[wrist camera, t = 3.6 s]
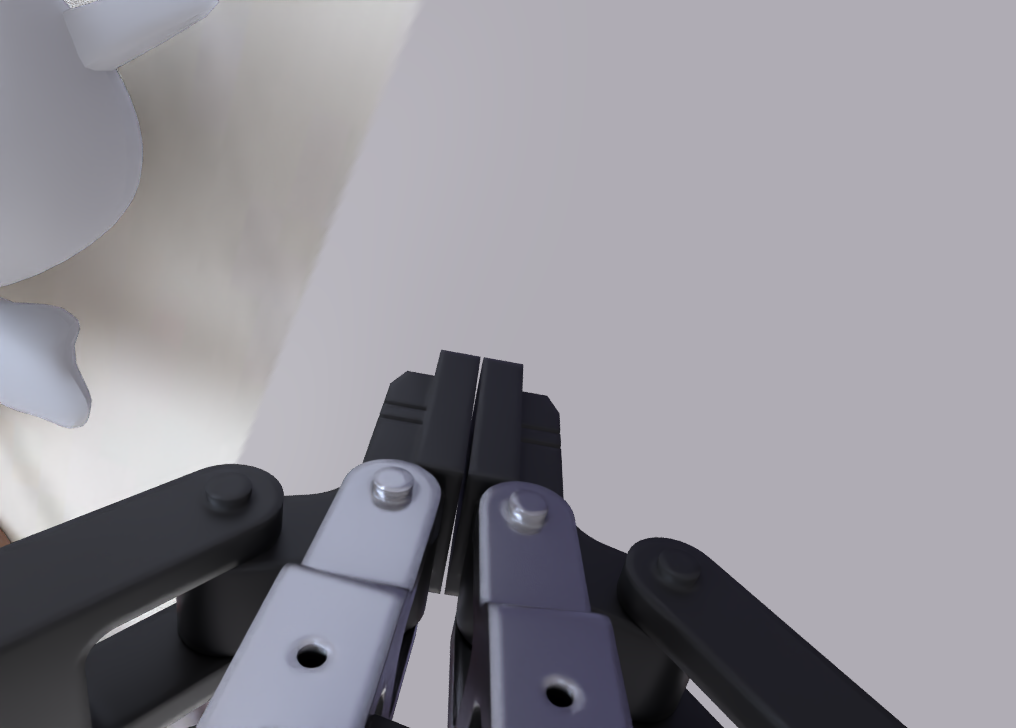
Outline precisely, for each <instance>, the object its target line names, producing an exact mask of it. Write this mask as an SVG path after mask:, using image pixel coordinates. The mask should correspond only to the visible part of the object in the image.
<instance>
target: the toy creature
mask: <svg viewBox="0 0 1016 728" xmlns="http://www.w3.org/2000/svg"><path fill="white" fill-rule="evenodd" d="M218 3H219V0H98V1H95V2H92V3H89V4H85V5H82V6H79V7H76V8H72V9H71V8H70V6H69V5H68V4H67V3H66V2H65V1H64V0H0V287H2V286H6V285H10V284H13V283H16V282H18V281H21V280H24V279H27V278H29V277H32V276H35V275H38V274H40V273H42V272H44V271H46V270H48V269H50V268H52V267H54V266H56V265H58V264H60V263H62V262H64V261H66V260H68V259H69V258H71V257H72V256H74V255H75V254H77V253H79V252H80V251H82V250H83V249H85V248H86V247H88V246H89V245H91V244H92V243H93V242H95V241H96V240H97V239H98V238H100V237H101V236H102V235H103V234H104V233H105V232H107V231H108V230H109V229H110V228H111V227H112V226H113V225H114V224H115V223H116V222H117V221H118V220H119V218H120V217H121V216H122V214H123V213H124V212H125V210H126V209H127V208H128V206H129V205H130V203H131V201H132V200H133V198H134V196H135V193H136V191H137V188H138V185H139V181H140V177H141V170H142V162H143V145H142V136H141V130H140V126H139V122H138V118H137V115H136V112H135V109H134V106H133V103H132V100H131V98H130V95H129V93H128V91H127V89H126V87H125V85H124V83H123V81H122V79H121V77H120V75H119V73H118V72H117V70H116V68H118V67H120V66H122V65H124V64H125V63H127V62H129V61H131V60H133V59H134V58H136V57H138V56H140V55H142V54H144V53H145V52H147V51H149V50H151V49H153V48H154V47H156V46H158V45H160V44H162V43H164V42H165V41H167V40H169V39H170V38H172V37H174V36H175V35H177V34H178V33H180V32H182V31H183V30H185V29H187V28H188V27H190V26H192V25H193V24H195V23H197V22H198V21H200V20H201V19H203V18H205V17H206V16H207V15H208V14H209V13H210V12H211V11H212V9H213V8H214V7H215V6H216V5H217V4H218ZM79 331H80V325H79V320H78V319H77V318H76V317H74V316H73V315H72V314H71V313H69V312H68V311H66V310H65V309H63V308H62V307H57V306H52V305H47V304H35V303H16V302H12V301H9V300H7V299H5V298H2V297H0V403H1V404H3V405H5V406H7V407H9V408H12V409H14V410H16V411H19V412H23V413H26V414H30V415H34V416H37V417H40V418H42V419H45V420H47V421H50V422H52V423H55V424H57V425H59V426H62V427H66V428H76V427H81V426H83V425H84V424H85V423H86V422H87V420H88V418H89V414H90V409H91V402H92V399H91V396H90V393H89V390H88V388H87V385H86V383H85V381H84V379H83V377H82V375H81V373H80V371H79V368H78V366H77V364H76V355H75V343H76V340H77V337H78V334H79Z"/></svg>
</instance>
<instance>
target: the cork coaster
mask: <svg viewBox="0 0 1016 728" xmlns="http://www.w3.org/2000/svg"><path fill="white" fill-rule="evenodd" d="M8 544H11V543H10V541H9V539H8V538H7V536H6V535H5V533H4V532H3V531H2V530H1V529H0V547H3V546H5V545H8Z"/></svg>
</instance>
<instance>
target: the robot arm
mask: <svg viewBox="0 0 1016 728" xmlns="http://www.w3.org/2000/svg"><path fill="white" fill-rule="evenodd" d="M479 364H480V357H479V356H473V355H468V354H462V353H456V352H451V351H445V350H441V352H440V357H439V361H438V364H437V368H436V372H435V376H432V375H427V374H421V373H416V372H410V371H407V372H405V373H404V374H403V375H401V376H400V377H399V378H397V379H396V380H394V381H393V382H392V383H390V386H389V389H388V392H387V395H386V398H385V401H384V404H383V406H382V409H381V412H380V416H379V418H378V421H377V423H376V426H375V429H374V432H373V435H372V437H371V440H370V444H369V446H368V449H367V452H366V455H365V457H364V460H363V463H362V464H360V465H358V466H356V467H355V468H353V469H352V470H351V471H350V472H349V473H348V474H347V475H346V477H345V478H344V480H343V482H342V484H341V486H340V487H339V488H337V489H335V490H331V491H328V492H324V493H319V494H310V495H293V496H284V492H283V489H282V486H281V484H280V483H279V481H278V480H277V479H276V478H275V477H274V476H272V475H271V474H269V473H268V472H266V471H263V470H262V469H259V468H256V467H253V466H247V465H240V464H224V465H216V466H211V467H207V468H204V469H201V470H198V471H196V472H193V473H191V474H188V475H185V476H183V477H180V478H178V479H175V480H173V481H170V482H167V483H165V484H162V485H160V486H157V487H155V488H152V489H149V490H147V491H144V492H142V493H139V494H137V495H134V496H131V497H129V498H126V499H124V500H121V501H119V502H116V503H113V504H111V505H108V506H106V507H103V508H101V509H98V510H95V511H93V512H90V513H88V514H85V515H83V516H80V517H77V518H75V519H72V520H70V521H67V522H65V523H62V524H59V525H57V526H54V527H52V528H49V529H47V530H44V531H41V532H39V533H36V534H34V535H31V536H29V537H26V538H23V539H21V540H18V541H16V542H13V543H11V544H8V545H5V546H3V547H0V728H167V727H168V726H170V725H171V724H173V723H175V722H176V721H178V720H179V719H181V718H182V717H184V716H186V715H187V714H189V713H190V712H192V711H193V710H195V709H197V708H198V707H200V706H201V705H203V704H204V703H206V702H208V701H209V700H210V702H209V704H208V706H207V708H206V710H205V711H204V713H203V715H202V717H201V719H200V721H199V723H198V724H197V725H195V726H192V727H189V728H409V727H406V726H404V725H401V724H399V723H397V722H394V721H392V718H393V714H394V711H395V707H396V704H397V700H398V697H399V693H400V689H401V686H402V682H403V679H404V675H405V671H406V668H407V664H408V661H409V657H410V653H411V650H412V647H413V643H414V639H415V636H416V630H417V624H418V622H419V621H420V619H421V618H422V616H423V614H424V611H425V606H426V601H427V595H428V592H432V593H438V594H440V591H441V586H442V581H443V576H444V571H445V566H446V561H447V556H448V550H449V546H450V540H451V535H452V530H453V525H454V520H455V526H454V533H453V539H452V546H451V554H450V561H449V567H448V574H447V580H446V588H445V594H446V595H453V596H458V603H457V612H456V616H455V621H454V626H453V631H452V635H451V642H450V671H449V701H448V728H724V727H723V726H721V724H720V723H719V722H718V721H717V720H716V719H715V718H714V717H713V716H712V715H711V714H710V713H709V712H708V711H707V710H706V709H705V708H704V707H703V706H702V705H701V704H700V703H699V702H698V700H697V699H696V698H695V697H694V696H693V695H692V694H691V693H690V692H689V691H688V690H687V689H686V686H687V683H688V681H689V679H691V680H692V681H693V682H694V683H695V684H696V685H697V686H698V687H699V688H700V689H701V690H702V691H703V692H704V693H705V694H706V695H707V696H708V697H709V698H710V699H711V700H712V701H713V702H714V703H715V704H716V705H717V706H718V707H719V708H720V709H721V710H722V712H724V713H725V714H726V716H727V717H728V718H729V719H730V720H731V721H732V722H733V723H734V724H735V725H736V726H737V727H738V728H907V727H906V726H905V725H903V724H902V723H901V722H900V721H899V720H898V719H896V718H895V717H894V716H893V715H892V714H891V713H889V712H888V711H887V710H886V709H885V708H884V707H882V706H881V705H880V704H879V703H878V702H877V701H875V700H874V699H873V698H872V697H871V696H870V695H868V694H867V693H866V692H865V691H864V690H863V689H861V688H860V687H859V686H858V685H857V684H856V683H854V682H853V681H852V680H851V679H850V678H849V677H848V676H846V675H845V674H844V673H843V672H842V671H841V670H839V669H838V668H837V667H836V666H835V665H834V664H832V663H831V662H830V661H829V660H828V659H827V658H825V657H824V656H823V655H822V654H821V653H820V652H818V651H817V650H816V649H815V648H814V647H813V646H811V645H810V644H809V643H808V642H807V641H806V640H804V639H803V638H802V637H801V636H800V635H799V634H797V633H796V632H795V631H794V630H793V629H792V628H791V627H789V626H788V625H787V624H786V623H785V622H784V621H782V620H781V619H780V618H779V617H777V615H775V614H774V613H773V612H772V611H771V610H770V609H768V608H767V607H766V606H765V605H764V604H763V603H761V602H760V601H759V600H758V599H757V598H756V597H754V596H753V595H752V594H751V593H750V592H749V591H747V590H746V589H745V588H744V587H743V586H742V585H741V584H739V583H738V582H737V581H736V580H735V579H734V578H732V577H731V576H730V575H729V574H728V573H727V572H725V571H724V570H723V569H722V568H721V567H720V566H718V565H717V564H716V563H715V562H714V561H712V560H711V559H710V558H709V557H708V556H706V555H705V554H704V553H703V552H701V551H699V550H698V549H696V548H694V547H692V546H690V545H688V544H686V543H683V542H681V541H677V540H673V539H669V538H658V537H655V538H647V539H644V540H641V541H639V542H637V543H635V544H634V545H633V546H632V547H631V548H630V550H629V551H628V554H627V553H624V552H622V551H619V550H617V549H615V548H612V547H610V546H607V545H605V544H602V543H600V542H598V541H596V540H594V539H593V538H591V537H590V536H588V535H587V534H585V533H584V532H583V531H581V530H580V529H579V528H578V527H577V526H576V523H575V517H574V514H573V511H572V510H571V508H570V506H569V505H568V503H567V502H566V501H565V500H564V499H563V478H562V458H561V449H560V447H561V438H560V418H559V417H560V416H559V412H558V411H557V409H556V408H555V406H554V405H553V404H552V402H551V401H550V399H549V398H548V396H545V395H539V394H534V393H528V392H522V385H523V384H522V383H523V364H517V363H512V362H507V361H501V360H496V359H490V358H485V357H484V359H483V363H482V369H481V373H480V379H479V384H478V389H477V394H476V399H475V405H474V410H473V404H474V398H475V391H476V384H477V377H478V371H479ZM472 412H473V415H472ZM471 419H472V420H471ZM457 505H458V506H457ZM456 510H457V512H456ZM455 515H456V519H455ZM175 597H176V600H177V603H175V604H173V605H171V606H169V607H167V608H165V609H163V610H161V611H159V612H157V613H155V614H153V615H152V616H150V617H148V618H146V619H144V620H142V621H140V622H138V623H136V624H134V625H132V626H130V627H128V628H126V629H124V630H122V631H120V632H118V633H117V634H115V635H113V636H111V637H109V638H107V639H105V640H103V641H101V642H99V643H97V642H98V641H99V640H100V639H101V638H102V637H103V636H104V635H105V634H107V633H108V632H110V631H111V630H113V629H114V628H116V627H118V626H120V625H122V624H124V623H126V622H128V621H130V620H132V619H134V618H136V617H138V616H140V615H142V614H144V613H146V612H148V611H150V610H152V609H154V608H156V607H158V606H159V605H161V604H163V603H165V602H167V601H169V600H171V599H173V598H175ZM96 643H97V644H96Z"/></svg>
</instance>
